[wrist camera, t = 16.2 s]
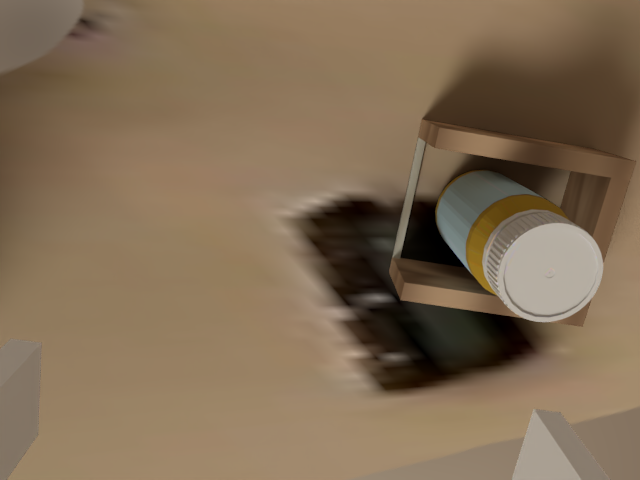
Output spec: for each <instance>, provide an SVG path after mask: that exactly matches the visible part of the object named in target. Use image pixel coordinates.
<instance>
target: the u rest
mask: <svg viewBox="0 0 640 480" xmlns="http://www.w3.org/2000/svg"><path fill="white" fill-rule="evenodd" d="M425 143H428V144H430V145H431V146H433V147H434V148H438V149H444V150H450V151H456V152H462V153H468V154H474V155H480V156H486V157H492V158H497V159H503V160H509V161H515V162H521V163H527V164H533V165H539V166H545V167H551V168H557V169H563V170H569V171H571V173H570V177H569V180H568V184H567V187H566V190H565V194H564V197H563V201H562V204H561V207H560V209H561V210H562V211H563V212H564V213H565V215H566V216H567V217H568V219H569V220H570V221H571V222H573V223H574V224H576V225H578V226H579V227H581V228H583V229H584V230H585V231H587V232H588V233H589V235H591V236H592V238H593V239H594V240H595V241H596V243H597V245H598V247H599V249H600V252H601V255H602V260H603V262H604V259H605V256H606V253H607V250H608V247H609V244H610V241H611V238H612V235H613V231H614V228H615V225H616V222H617V219H618V216H619V213H620V210H621V207H622V204H623V201H624V198H625V194H626V191H627V188H628V185H629V182H630V179H631V176H632V173H633V170H634V167H635V164H636V161H633V160H630V159H627V158H623V157H620V156H617V155H613V154H610V153H606V152H603V151H600V150H596V149H591V148H586V147H580V146H574V145H568V144H562V143H557V142H551V141H545V140H539V139H533V138H528V137H522V136H516V135H510V134H504V133H499V132H493V131H487V130H481V129H475V128H470V127H464V126H458V125H452V124H446V123H441V122H435V121H429V120H423V119H422V122H421V126H420V131H419V136H418V140H417V145H416V149H415V154H414V159H413V163H412V168H411V173H410V177H409V182H408V187H407V191H406V196H405V200H404V205H403V210H402V214H401V219H400V224H399V228H398V233H397V238H396V242H395V247H394V251H393V256H392V261H391V265H390V270H389V273H390V276H391V278H392V281H393V283H394V285H395V288H396V290H397V292H398V295H399V297H400V300H404V301H411V302H418V303H425V304H431V305H438V306H445V307H452V308H459V309H465V310H472V311H479V312H486V313H493V314H499V315H506V316H513V317H520V316H519V315H517V314H515V313H514V312H513V311H511V310H510V309H509V308H508V307H507V306H506V305H505V304H504V302H503V301H502V300H501V299H500V298H499V297H498V296H497V295H495V294H493V293H491V292H489V291H488V290H486V289H485V288H484V287H482V285H481V284H479V282H478V281H477V280H476V279H475V278H474V276H473V275H472V274H471V273H470V272H469V270H468V269H467V268H464V267H457V266H450V265H444V264H437V263H431V262H424V261H418V260H411V259H405V258H400V257H401V252H402V247H403V243H404V238H405V234H406V229H407V225H408V220H409V216H410V211H411V207H412V202H413V197H414V193H415V188H416V184H417V179H418V175H419V170H420V166H421V161H422V156H423V152H424V147H425ZM591 299H592V298H591ZM590 302H591V300H590V301H589V302H588V303H587V304H586V305H585V306H584V307H583V308H582V309H580V310H579V311H578V312H576V313H574V314H573V315H571V316H569V317H567V318H564V319H561V320H557V321H552V322H554V323H561V324H568V325H574V326H581V327H583V324H584V321H585V318H586V315H587V312H588V309H589V306H590ZM520 318H523V317H520Z"/></svg>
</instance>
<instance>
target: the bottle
mask: <svg viewBox="0 0 640 480" xmlns="http://www.w3.org/2000/svg"><path fill="white" fill-rule="evenodd" d="M435 212H436V225H437V227H438V230H439V233H440V235H441V236H442V238H443V239H444V240H445V242H446V243H447V244H448V245H449V247H450V248H451V249H452V250H453V252H454V253H455V254H456V255H457V257H458V258H459V259H460V260H461V262H462V263H463V264H464V265H465V267H466V268H467V269H468V270H469V272H470V273H471V274H472V275H473V276H474V278H475V279H476V280H477V281H478V282H479V284H481V285H482V287H484V288H485V289H486V290H488V291H489V292H491V293H493V294H495V295H497V296H498V297H499V298H500V299H501V300H502V301H503V302H504V304H505V305H506V306H507V307H508V308H509V309H510V310H511V311H513V312H514V313H515V314H517V315H519V316H520V317H523V318H525V319H528V320H531V321H536V322H552V321H557V320H561V319H564V318H567V317H569V316H571V315H573V314H574V313H576V312H578V311H579V310H580V309H582V308H583V307H584V306H585V305H586V304H587V303H588V302H589V301H590V300H591V298H592V297H593V296H594V294H595V293H596V291H597V289H598V287H599V284H600V282H601V278H602V273H603V260H602V255H601V252H600V249H599V247H598V245H597V243H596V241H595V240H594V239H593V238H592V236H591V235H589V233H588V232H587V231H585V230H584V229H583V228H581V227H579V226H578V225H576V224H574V223H573V222H571V221H570V220H569V219H568V217H567V216H566V215H565V213H564V212H563V211H562V210H561V209H560V208H559V207H557V206H556V205H555V204H553V203H551V202H550V201H548V200H547V199H545V198H543V197H542V196H540V195H538V194H536V193H534V192H533V191H531V190H529V189H527V188H525V187H524V186H522V185H520V184H518V183H517V182H515V181H513V180H511V179H509V178H508V177H506V176H504V175H502V174H500V173H497V172H494V171H490V170H473V171H469V172H467V173H464V174H462V175H460V176H458V177H456V178H455V179H454V180H453V181H451V182H450V183H449V184H448V185H447V186H446V187H445V189H444V190H443V192H442V193H441V195H440V197H439V199H438V203H437V206H436V211H435Z"/></svg>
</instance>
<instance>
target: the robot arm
mask: <svg viewBox="0 0 640 480" xmlns="http://www.w3.org/2000/svg"><path fill="white" fill-rule="evenodd" d="M41 347H42V343H40V342H32V341H25V340H17V339H10V340H9V341H8V342H7V343H6V344H5V345H4V346H3V347H2V348H1V349H0V480H7V478H8V477H9V476H10V474H11V473H12V471H13V470H14V468H15V467H16V466H17V464H18V463H19V461H20V460H21V458H22V457H23V456H24V454H25V453H26V451H27V450H28V449H29V447H30V446H31V444H32V443H33V441H34V440H35V439H36V437H37V436H38V424H39V398H40V373H41ZM512 480H610V479H609V477H608V476H607V474H606V473H605V472H604V470H603V469H602V468H601V466H600V465H599V464H598V462H597V461H596V460H595V458H594V457H593V456H592V454H591V453H590V452H589V450H588V449H587V447H586V446H585V445H584V443H583V442H582V441H581V439H580V438H579V437H578V435H577V434H576V433H575V431H574V430H573V429H572V427H571V426H570V425H569V423H568V422H567V421H566V419H565V418H564V416H563V415H562V414H561V412H553V411H546V410H538V409H534V410H533V413H532V416H531V420H530V423H529V426H528V429H527V432H526V436H525V439H524V442H523V445H522V448H521V452H520V455H519V458H518V461H517V464H516V468H515V471H514V474H513V477H512Z"/></svg>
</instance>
